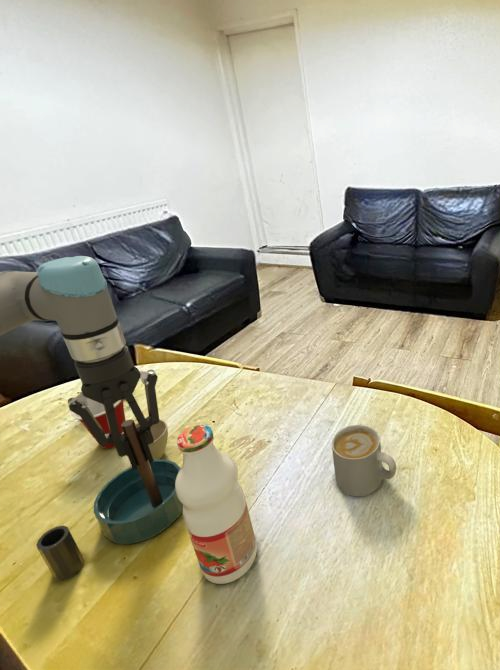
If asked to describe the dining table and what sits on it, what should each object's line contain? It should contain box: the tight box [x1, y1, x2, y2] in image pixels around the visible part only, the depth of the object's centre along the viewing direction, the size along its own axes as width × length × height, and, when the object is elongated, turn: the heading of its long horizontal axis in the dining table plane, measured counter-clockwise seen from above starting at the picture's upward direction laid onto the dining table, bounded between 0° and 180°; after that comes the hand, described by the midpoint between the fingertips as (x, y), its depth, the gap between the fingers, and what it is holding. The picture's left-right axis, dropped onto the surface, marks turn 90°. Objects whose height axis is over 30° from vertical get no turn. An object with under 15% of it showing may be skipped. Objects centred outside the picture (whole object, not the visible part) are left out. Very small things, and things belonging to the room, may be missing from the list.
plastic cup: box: [70, 398, 126, 449], centre depth 99 cm, size 11×11×12 cm
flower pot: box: [122, 418, 169, 460], centre depth 95 cm, size 10×10×7 cm
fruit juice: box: [175, 424, 258, 585], centre depth 67 cm, size 9×9×28 cm
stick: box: [121, 419, 163, 508], centre depth 77 cm, size 2×2×20 cm
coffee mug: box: [331, 424, 397, 497], centre depth 85 cm, size 13×10×10 cm
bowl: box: [93, 458, 183, 545], centre depth 81 cm, size 15×15×6 cm
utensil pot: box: [35, 525, 85, 582], centre depth 71 cm, size 4×4×8 cm
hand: (141, 461), depth 76 cm, fingers closed on stick, 2 cm apart
